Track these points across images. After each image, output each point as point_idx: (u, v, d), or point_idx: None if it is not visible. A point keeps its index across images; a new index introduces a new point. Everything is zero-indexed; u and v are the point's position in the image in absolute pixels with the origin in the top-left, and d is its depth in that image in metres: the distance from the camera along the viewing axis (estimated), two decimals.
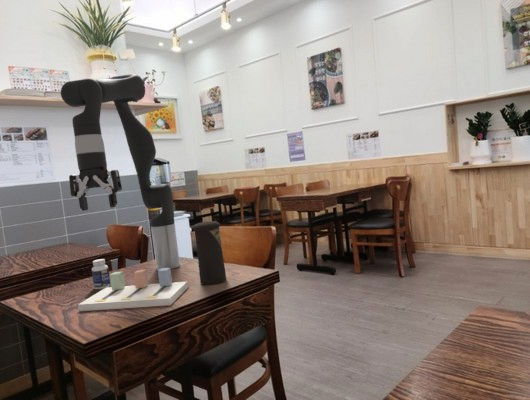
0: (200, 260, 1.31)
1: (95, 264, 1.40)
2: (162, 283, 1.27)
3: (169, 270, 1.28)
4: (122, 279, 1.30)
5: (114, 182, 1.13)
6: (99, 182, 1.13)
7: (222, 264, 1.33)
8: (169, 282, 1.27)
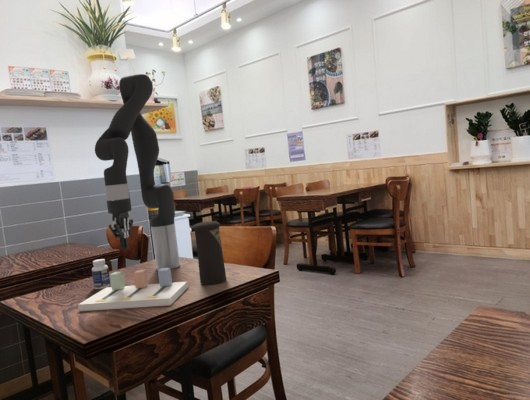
0: (200, 260, 1.31)
1: (95, 264, 1.40)
2: (162, 283, 1.27)
3: (169, 270, 1.28)
4: (122, 279, 1.30)
5: (130, 227, 1.40)
6: (127, 224, 1.37)
7: (222, 264, 1.33)
8: (169, 282, 1.27)
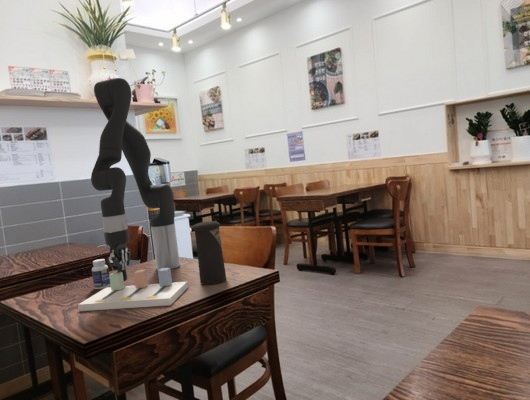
0: (200, 260, 1.31)
1: (95, 264, 1.40)
2: (162, 283, 1.27)
3: (169, 270, 1.28)
4: (121, 279, 1.30)
5: (128, 258, 1.37)
6: (125, 255, 1.34)
7: (222, 264, 1.33)
8: (169, 282, 1.27)
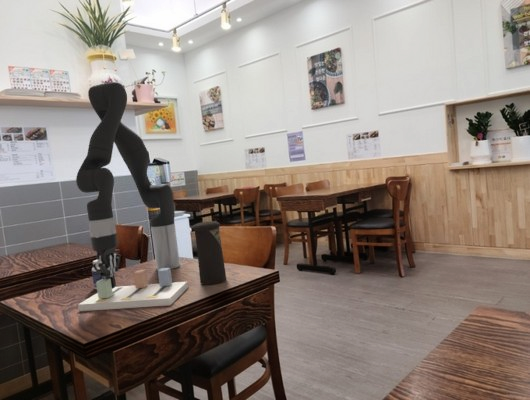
0: (200, 260, 1.31)
1: None
2: (162, 283, 1.27)
3: (169, 270, 1.28)
4: (109, 287, 1.22)
5: (117, 264, 1.29)
6: (114, 260, 1.26)
7: (222, 264, 1.33)
8: (169, 282, 1.27)
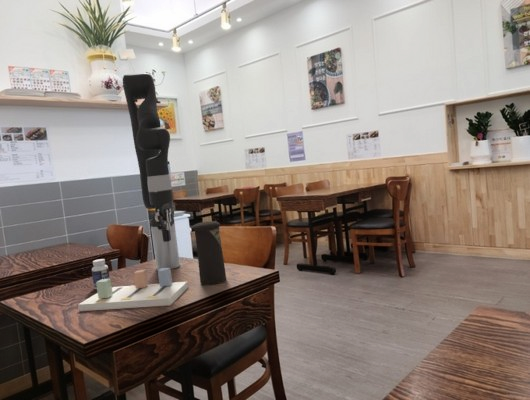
0: (200, 260, 1.31)
1: (95, 264, 1.40)
2: (162, 283, 1.27)
3: (169, 270, 1.28)
4: (109, 287, 1.22)
5: (172, 219, 1.38)
6: (169, 215, 1.35)
7: (222, 264, 1.33)
8: (169, 282, 1.27)
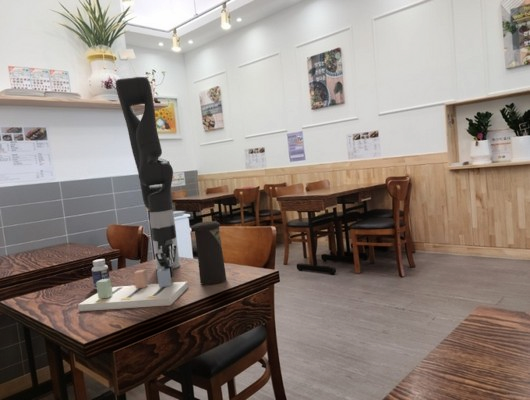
0: (200, 260, 1.31)
1: (95, 264, 1.40)
2: (161, 283, 1.26)
3: (168, 271, 1.27)
4: (109, 287, 1.22)
5: (174, 254, 1.34)
6: (172, 251, 1.31)
7: (222, 264, 1.33)
8: (168, 283, 1.27)
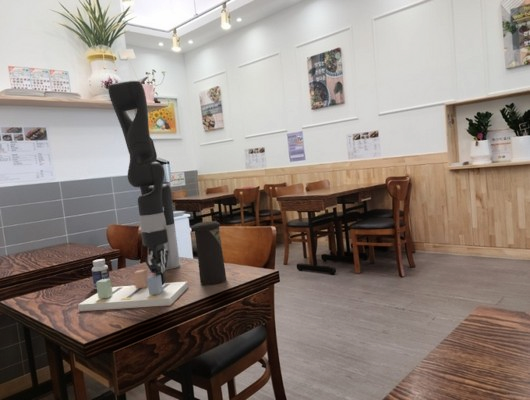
0: (200, 260, 1.31)
1: (95, 264, 1.40)
2: (152, 291, 1.19)
3: (159, 277, 1.20)
4: (109, 287, 1.22)
5: (166, 260, 1.27)
6: (164, 256, 1.24)
7: (222, 264, 1.33)
8: (160, 290, 1.19)
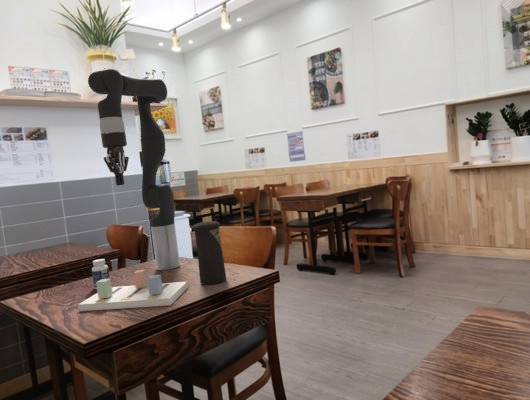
0: (200, 260, 1.31)
1: (95, 264, 1.40)
2: (152, 291, 1.19)
3: (159, 277, 1.20)
4: (109, 287, 1.22)
5: (126, 164, 1.37)
6: (123, 159, 1.34)
7: (222, 264, 1.33)
8: (160, 290, 1.19)
